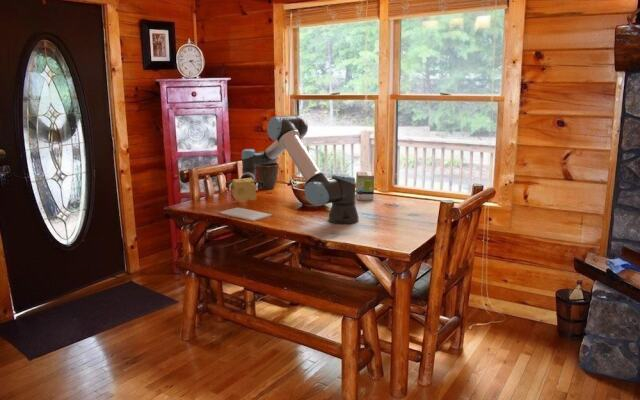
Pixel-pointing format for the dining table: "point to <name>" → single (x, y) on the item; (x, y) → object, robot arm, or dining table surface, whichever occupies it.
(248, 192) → the cheese
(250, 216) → the mat
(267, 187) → the plant pot
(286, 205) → the dining table surface
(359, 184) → the tea box
